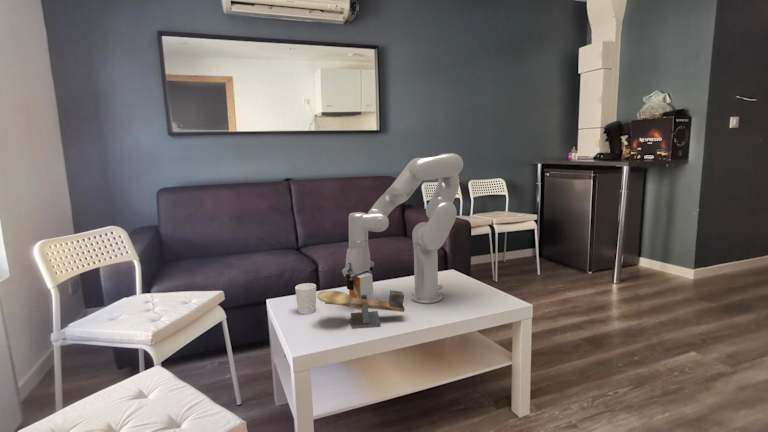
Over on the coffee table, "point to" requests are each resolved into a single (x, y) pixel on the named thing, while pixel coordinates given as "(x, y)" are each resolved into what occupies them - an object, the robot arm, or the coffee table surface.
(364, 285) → the small box
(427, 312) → the coffee table surface
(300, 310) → the white cup
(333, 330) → the coffee table surface
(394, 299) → the beam
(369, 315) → the beam stand
